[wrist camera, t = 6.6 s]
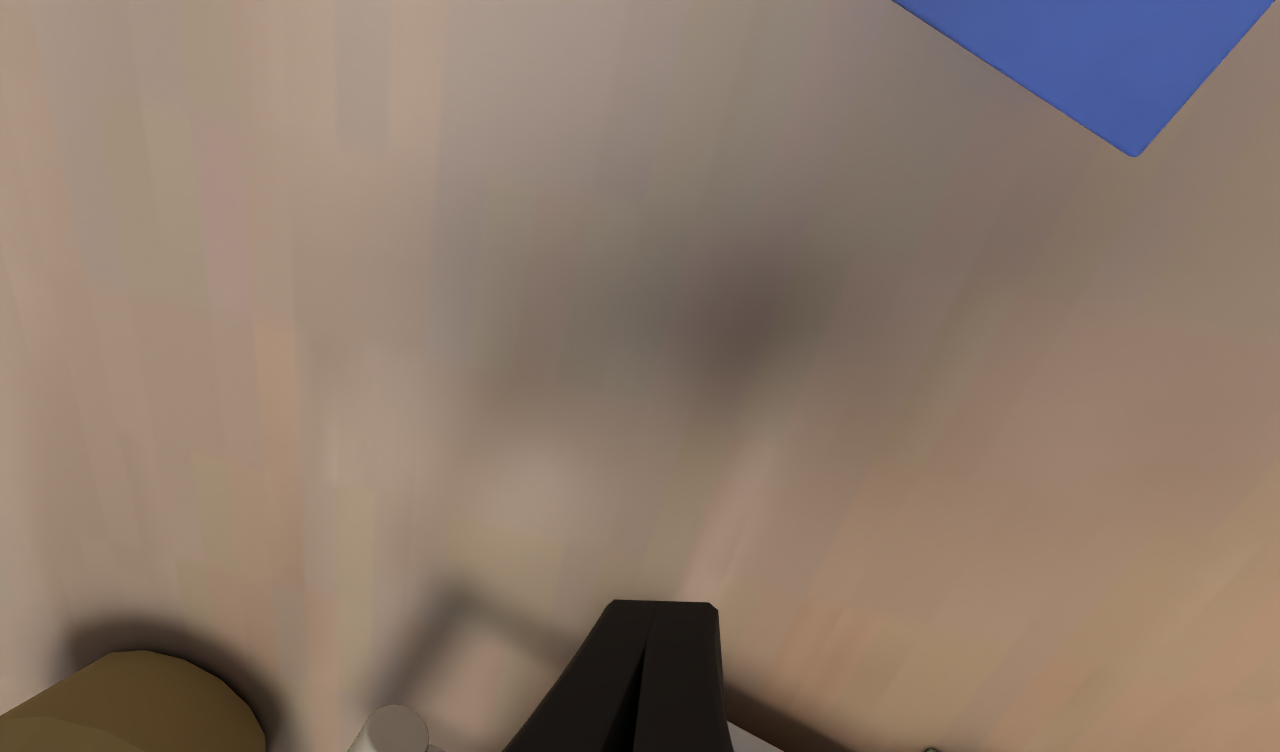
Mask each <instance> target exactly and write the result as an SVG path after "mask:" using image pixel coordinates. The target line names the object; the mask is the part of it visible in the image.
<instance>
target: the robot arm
mask: <svg viewBox="0 0 1280 752" xmlns="http://www.w3.org/2000/svg"><path fill="white" fill-rule="evenodd" d="M502 752H734V749H733V745H732V741H731V737H730V732H729V728H728V723H727V719H726V713H725V699H724V685H723V671H722V657H721V644H720V630H719V616H718V610H717V609H716V608H715V607H714V606H712V605H711V604H710V603H707V602H675V601H644V600H613V601H612V602H611V603H610V604H608V605H607V606H606V608H605V609H604V611H603V613H602V614H601V616H600V617H599V619H598V621H597V622H596V624H595V625H594V627H593V629H592V630H591V632H590V633H589V635H588V636H587V638H586V639H585V641H584V642H583V644H582V645H581V647H580V648H579V650H578V651H577V653H576V654H575V656H574V657H573V659H572V660H571V662H570V663H569V664H568V666H567V667H566V669H565V670H564V672H563V673H562V674H561V676H560V677H559V679H558V680H557V681H556V683H555V684H554V685H553V687H552V688H551V690H550V691H549V692H548V694H547V695H546V696H545V698H544V699H543V700H542V702H541V703H540V704H539V706H538V707H537V708H536V710H535V711H534V712H533V714H532V715H531V716H530V718H529V719H528V720H527V722H526V723H525V724H524V725H523V727H522V728H521V729H520V730H519V732H518V733H517V734H516V735H515V737H514V738H513V739H512V740H511V741H510V742H509V744H508V745H507V746H506V747H505V748H504V750H503V751H502Z"/></svg>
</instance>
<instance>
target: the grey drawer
mask: <svg viewBox="0 0 1280 752" xmlns="http://www.w3.org/2000/svg"><path fill="white" fill-rule="evenodd" d="M727 723H728V728H729V732H730V737H731V741H732V745H733V749H734V752H784V751H782V750H780V749H778V748H776V747H774V746H772V745H771V744H769V743H767V742H765V741H763V740H761V739H759V738H758V737H756V736H754V735H752V734H750V733H748V732H747V731H745V730H743V729H741V728H739V727H737V726H735V725H734V724H732V723H730V722H728V721H727ZM428 744H429V733H428V729H427V726H426V724H425V722H424V721H423V719H422V718H421V717H420V716H419V715H418V714H417V713H416V712H415V711H413V710H412V709H410V708H408V707H405V706H402V705H386V706H383V707H381V708H379V709H377V710H375V711H374V712H373V713H372V714H371V715H370V717H369V718H368V720H367V721H366V723H365V725H364V726H363V728H362V729H361V731H360V732H359V734H358V736H357V737H356V739H355V740H354V742H353V744H352V745H351V747H350V748H349V750H348V752H445V751H443V750H441V749H439V748H437V747H435V746H433V745H430V744H429V745H428Z"/></svg>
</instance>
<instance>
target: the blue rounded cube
mask: <svg viewBox="0 0 1280 752" xmlns="http://www.w3.org/2000/svg"><path fill="white" fill-rule="evenodd" d="M892 1H894V2H895V3H897V4H898V5H900V6H901V7H903V8H904V9H906V10H907V11H909V12H911V13H912V14H914V15H915V16H917V17H918V18H920V19H921V20H923V21H924V22H926V23H927V24H929V25H930V26H932V27H933V28H935V29H936V30H938V31H939V32H941V33H942V34H944V35H945V36H947V37H949V38H950V39H952V40H953V41H955V42H956V43H958V44H959V45H961V46H962V47H964V48H965V49H967V50H968V51H970V52H971V53H973V54H974V55H976V56H977V57H979V58H980V59H982V60H984V61H985V62H987V63H988V64H990V65H991V66H993V67H994V68H996V69H997V70H999V71H1000V72H1002V73H1003V74H1005V75H1006V76H1008V77H1009V78H1011V79H1012V80H1014V81H1015V82H1017V83H1019V84H1020V85H1022V86H1023V87H1025V88H1026V89H1028V90H1029V91H1031V92H1032V93H1034V94H1035V95H1037V96H1038V97H1040V98H1041V99H1043V100H1044V101H1046V102H1047V103H1049V104H1050V105H1052V106H1054V107H1055V108H1057V109H1058V110H1060V111H1061V112H1063V113H1064V114H1066V115H1067V116H1069V117H1070V118H1072V119H1073V120H1075V121H1076V122H1078V123H1079V124H1081V125H1082V126H1084V127H1085V128H1087V129H1088V130H1090V131H1092V132H1093V133H1095V134H1096V135H1098V136H1099V137H1101V138H1102V139H1104V140H1105V141H1107V142H1108V143H1110V144H1111V145H1113V146H1114V147H1116V148H1117V149H1119V150H1120V151H1122V152H1123V153H1125V154H1127V155H1128V156H1130V157H1137V156H1138V155H1140V154H1141V153H1142V152H1143V151H1144V149H1145V148H1146V147H1147V146H1148V145H1149V144H1150V143H1151V141H1152V140H1153V139H1154V138H1155V137H1156V136H1157V135H1158V133H1159V132H1160V131H1161V130H1162V129H1163V128H1164V127H1165V125H1166V124H1167V123H1168V122H1169V121H1170V120H1171V119H1172V117H1173V116H1174V115H1175V114H1176V113H1177V112H1178V111H1179V109H1180V108H1181V107H1182V106H1183V105H1184V104H1185V103H1186V101H1187V100H1188V99H1189V98H1190V97H1191V96H1192V95H1193V93H1194V92H1195V91H1196V90H1197V89H1198V88H1199V87H1200V85H1201V84H1202V83H1203V82H1204V81H1205V80H1206V79H1207V77H1208V76H1209V75H1210V74H1211V73H1212V72H1213V71H1214V69H1215V68H1216V67H1217V66H1218V65H1219V64H1220V63H1221V61H1222V60H1223V59H1224V58H1225V57H1226V56H1227V55H1228V53H1229V52H1230V51H1231V50H1232V49H1233V48H1234V47H1235V45H1236V44H1237V43H1238V42H1239V41H1240V40H1241V39H1242V37H1243V36H1244V35H1245V34H1246V33H1247V32H1248V31H1249V29H1250V28H1251V27H1252V26H1253V25H1254V24H1255V23H1256V21H1257V20H1258V19H1259V18H1260V17H1261V16H1262V15H1263V13H1264V12H1265V11H1266V10H1267V9H1268V8H1269V7H1270V5H1271V4H1272V3H1273V2H1274V1H1275V0H892Z"/></svg>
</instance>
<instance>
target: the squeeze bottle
mask: <svg viewBox="0 0 1280 752" xmlns="http://www.w3.org/2000/svg"><path fill="white" fill-rule="evenodd" d="M0 752H266V746H265V734H264V733H263V731H262V729H261V727H260V725H259V723H258V722H257V720H256V718H255V716H254V714H253V713H252V711H251V709H250V707H249V706H248V705H247V704H246V703H245V702H244V701H243V700H242V699H241V698H240V697H239V696H238V695H236V694H235V693H234V692H233V691H232V690H231V689H230V688H229V687H228V686H227V685H226V684H225V683H224V682H223V681H222V680H220V679H219V678H217V677H215V676H213V675H211V674H209V673H208V672H206V671H204V670H202V669H200V668H198V667H196V666H195V665H193V664H191V663H189V662H187V661H185V660H183V659H179V658H175V657H171V656H167V655H163V654H159V653H155V652H151V651H146V650H138V651H125V652H112V653H109V654H107V655H105V656H104V657H102V658H100V659H98V660H97V661H95V662H93V663H91V664H90V665H88V666H86V667H85V668H83V669H81V670H79V671H78V672H76V673H74V674H72V675H71V676H69V677H67V678H65V679H64V680H62V681H60V682H58V683H57V684H55V685H53V686H52V687H50V688H48V689H46V690H45V691H43V692H41V693H39V694H38V695H36V696H34V697H32V698H31V699H29V700H27V701H26V702H24V703H22V704H20V705H19V706H17V707H15V708H13V709H12V710H10V711H8V712H6V713H5V714H3V715H1V716H0Z"/></svg>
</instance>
